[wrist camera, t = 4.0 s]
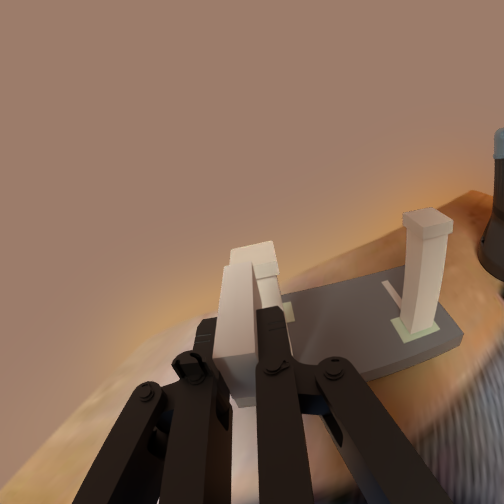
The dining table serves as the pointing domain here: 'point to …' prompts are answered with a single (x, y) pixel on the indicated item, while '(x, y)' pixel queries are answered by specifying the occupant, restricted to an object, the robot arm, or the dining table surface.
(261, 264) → the lever
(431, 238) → the lever
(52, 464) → the dining table surface
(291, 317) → the switch panel
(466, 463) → the dining table surface
